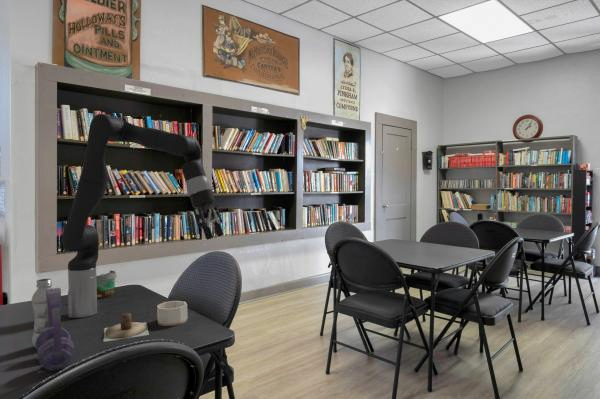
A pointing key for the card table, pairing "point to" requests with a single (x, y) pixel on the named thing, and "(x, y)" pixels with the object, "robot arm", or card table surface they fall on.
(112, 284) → the food container
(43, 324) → the plastic bottle
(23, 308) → the card table surface
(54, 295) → the headphones
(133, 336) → the mat
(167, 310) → the cup
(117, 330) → the lid
